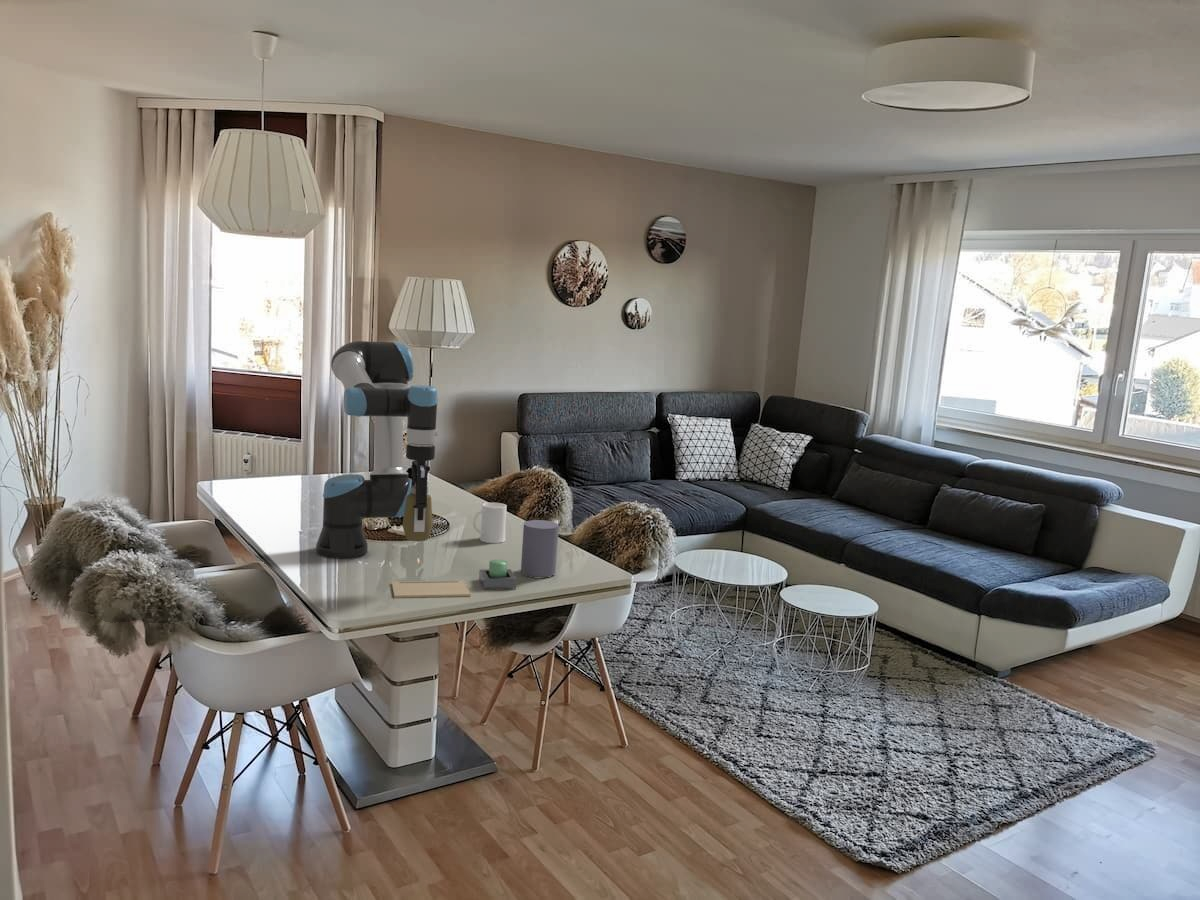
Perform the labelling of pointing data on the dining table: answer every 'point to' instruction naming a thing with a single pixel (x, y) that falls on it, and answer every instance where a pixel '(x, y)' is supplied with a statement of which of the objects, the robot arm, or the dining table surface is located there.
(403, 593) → the sketch pad
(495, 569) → the button
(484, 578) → the button housing
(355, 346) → the robot arm
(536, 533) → the container
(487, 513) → the mug
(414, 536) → the squeeze bottle
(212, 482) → the dining table surface
